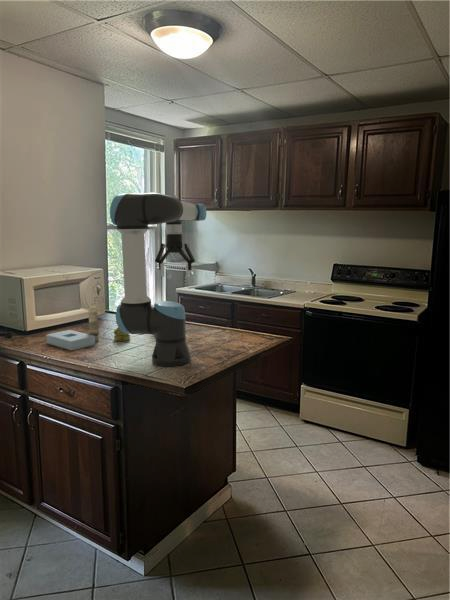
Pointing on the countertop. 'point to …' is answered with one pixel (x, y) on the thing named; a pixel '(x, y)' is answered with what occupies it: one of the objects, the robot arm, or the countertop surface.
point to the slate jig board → (70, 339)
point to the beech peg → (93, 322)
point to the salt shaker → (121, 335)
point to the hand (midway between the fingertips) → (175, 276)
